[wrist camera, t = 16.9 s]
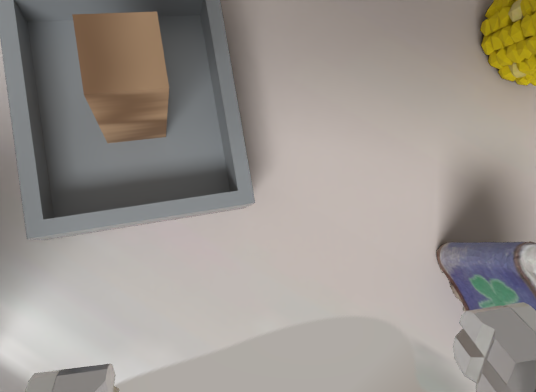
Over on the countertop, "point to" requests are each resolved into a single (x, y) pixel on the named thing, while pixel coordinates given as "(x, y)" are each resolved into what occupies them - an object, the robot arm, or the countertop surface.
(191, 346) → the countertop surface
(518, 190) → the countertop surface
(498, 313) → the robot arm
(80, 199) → the bin
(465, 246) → the flask
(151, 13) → the block
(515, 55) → the food
